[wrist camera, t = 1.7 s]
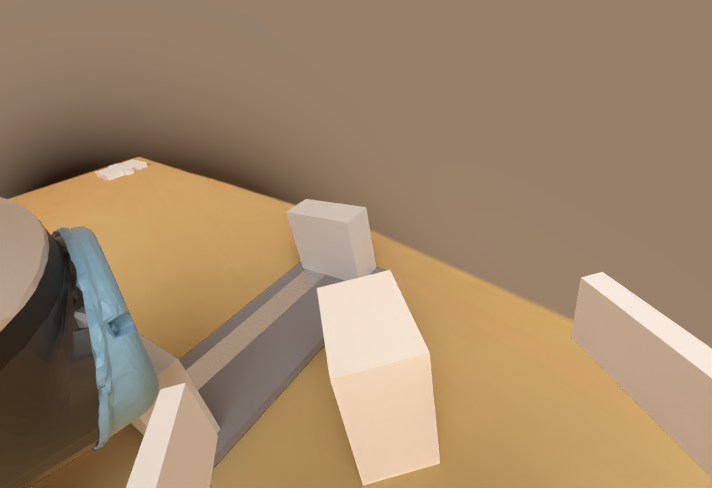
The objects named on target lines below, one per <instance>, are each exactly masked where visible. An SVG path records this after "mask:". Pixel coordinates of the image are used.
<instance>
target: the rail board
mask: <svg viewBox="0 0 712 488" xmlns="http://www.w3.org/2000/svg"><path fill="white" fill-rule="evenodd" d="M384 271H386V270H385V269H381V268H377V267H376V268H375V269H374V270H373V271H372V272H371V273H370V275H372V274H376V273H380V272H384ZM343 281H346V280H342V279H339V278H335V277H332V276H328V275H326V274H322V273H319V272H315V271H312V270H308V269H304V268H303V267H302V264H301V262H299V263H298V264H297V265H296V266H295V267H293V268H292V269H291V270H290V271H288V272H287V273H286V274H285V275H283V276H282V277H281V278H280V279H278V280H277V281H276V282H275V283H274V284H272V285H271V286H270V287H269V288H267V289H266V290H265V291H264V292H262V293H261V294H260V295H259V296H257V297H256V298H255V299H254V300H253V301H251V302H250V303H249V304H248V305H246V306H245V307H244V308H243V309H241V310H240V311H239V312H238V313H237V314H235V315H234V316H233V317H232V318H230V319H229V320H228V321H227V322H225V323H224V324H223V325H222V326H220V327H219V328H218V329H217V330H216V331H214V332H213V333H212V334H211V335H209V336H208V337H207V338H206V339H204V340H203V341H202V342H201V343H199V344H198V345H197V346H196V347H195V348H193V349H192V350H191V351H190V352H188V353H187V354H186V355H185V356H183V357H182V358H181V359H180V360H179V361H180V362H181V364H182V366H183V367H184V369H185V371H186V372H187V374H188V376H189V377H190V379H191V381H192V382H193V384H194V386H195V387H196V389H197V391H198V392H199V394H200V395H201V397H202V399H203V400H204V402H205V404H206V405H207V407H208V409H209V410H210V412H211V414H212V415H213V417H214V419H215V420H216V422H217V424H218V425H219V427H220V429H221V430H220V431H219V432H218V433H217V435H218V439H217V445H216V451H215V458H214V464H213V469H214V467H215V466H216V465H217V464H218V463H219V462H220V461H221V460H222V459H223V457H224V456H225V455H226V454H227V453H228V452H229V451H230V450H231V449H232V447H233V446H234V445H235V444H236V443H237V442H238V441H239V440H240V439H241V437H242V436H243V435H244V434H245V433H246V432H247V431H248V430H249V429H250V427H251V426H252V425H253V424H254V423H255V422H256V421H257V420H258V419H259V417H260V416H261V415H262V414H263V413H264V412H265V411H266V410H267V409H268V407H269V406H270V405H271V404H272V403H273V402H274V401H275V400H276V398H277V397H278V396H279V395H280V394H281V393H282V392H283V391H284V390H285V388H286V387H287V386H288V385H289V384H290V383H291V382H292V381H293V380H294V378H295V377H296V376H297V375H298V374H299V373H300V372H301V371H302V370H303V368H304V367H305V366H306V365H307V364H308V363H309V362H310V361H311V360H312V358H313V357H314V356H315V355H316V354H317V353H318V352H319V351H320V350H321V348H322V347H323V346H324V345H325V342H324V335H323V328H322V321H321V314H320V307H319V300H318V293H317V288H319V287H323V286H327V285H331V284H335V283H339V282H343ZM130 424H131V425H132V426H133V427H134V428H135V429H136V430H137V431H138V432H139V433H140V434H141V435H142V436H143V437H144V435H143V434H142V433H141V432H140V431H139V430H138V429H137V428H136V427H135V426H134V425H133V424H132V423H130Z"/></svg>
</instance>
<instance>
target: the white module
mask: <svg viewBox="0 0 712 488" xmlns="http://www.w3.org/2000/svg"><path fill="white" fill-rule="evenodd" d="M317 293H318V300H319V307H320V314H321V321H322V328H323V335H324V342H325V349H326V356H327V363H328V370H329V377H330V381H331V385H332V388H333V391H334V394H335V397H336V401H337V404H338V407H339V410H340V413H341V417H342V420H343V423H344V426H345V429H346V433H347V436H348V439H349V442H350V446H351V449H352V452H353V455H354V458H355V462H356V465H357V468H358V471H359V474H360V478H361V481H362V484H363V486H364V485H367V484H371V483H374V482H377V481H381V480H384V479H388V478H391V477H395V476H398V475H402V474H405V473H408V472H412V471H415V470H419V469H422V468H426V467H429V466H433V465H436V464H440V457H439V446H438V436H437V425H436V415H435V404H434V394H433V383H432V373H431V362H430V352H429V350H428V348H427V346H426V344H425V342H424V340H423V338H422V336H421V334H420V332H419V329H418V327H417V325H416V323H415V321H414V319H413V317H412V315H411V313H410V311H409V309H408V306H407V304H406V302H405V300H404V298H403V296H402V294H401V292H400V290H399V288H398V286H397V283H396V281H395V279H394V277H393V275H392V273H391V271H390V270H388V271H384V272H380V273H376V274H372V275H368V276H364V277H360V278H356V279H351V280H347V281H343V282H339V283H335V284H331V285H327V286H323V287H319V288H317Z"/></svg>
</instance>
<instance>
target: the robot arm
mask: <svg viewBox="0 0 712 488" xmlns="http://www.w3.org/2000/svg"><path fill="white" fill-rule="evenodd" d="M571 338H572V339H573V340H574V341H575V342H576V343H577V344H578V345H579V346H580V347H581V348H582V349H583V350H584V351H585V352H586V353H587V354H588V355H589V356H590V357H591V358H592V359H593V360H594V361H595V362H596V363H597V364H598V365H599V366H600V367H601V368H602V369H603V370H604V371H605V372H606V373H607V374H608V375H609V376H610V377H611V378H612V379H613V380H614V381H615V382H616V383H617V384H618V385H619V386H620V387H621V388H622V389H623V390H624V391H625V392H626V393H627V394H628V395H629V396H630V397H631V398H632V399H633V400H634V401H635V402H636V403H637V404H638V405H639V406H640V407H641V408H642V409H643V410H644V411H645V412H646V413H647V414H648V415H649V416H650V417H651V418H652V419H653V420H654V421H655V422H656V423H657V424H658V425H659V426H660V427H661V428H662V429H663V430H664V431H665V432H666V433H667V434H668V435H669V436H670V437H671V438H672V439H673V440H674V441H675V442H676V443H677V444H678V445H679V446H680V447H681V448H682V449H683V450H684V451H685V452H686V453H687V454H688V455H689V456H690V457H691V458H692V459H693V460H694V461H695V462H696V463H697V464H698V465H699V466H700V467H701V468H702V469H703V470H704V471H705V472H706V473H707V474H708V475H709V476H710V477H711V478H712V349H711V348H710V347H708V346H707V345H705V344H704V343H703V342H701V341H700V340H698V339H697V338H696V337H694V336H693V335H691V334H689V332H687V331H686V330H684V329H683V328H681V327H680V326H678V325H677V324H676V323H674V322H673V321H671V320H670V319H668V318H667V317H666V316H664V315H663V314H661V313H660V312H659V311H657V310H656V309H654V308H653V307H651V306H650V305H649V304H647V303H646V302H644V301H643V300H641V299H640V298H639V297H637V296H636V295H634V294H633V293H632V292H630V291H629V290H627V289H626V288H624V287H623V286H621V285H620V284H619V283H617V282H616V281H614V280H613V279H612V278H610V277H608V276H607V275H606V274H604V273H603V272H600V273H597V274H593V275H589V276H585V277H582V278H581V281H580V287H579V292H578V298H577V304H576V311H575V316H574V322H573V328H572V334H571ZM158 392H159V381H158V378H157V375H156V372H155V370H154V367H153V365H152V362H151V360H150V358H149V356H148V353H147V351H146V349H145V346H144V344H143V342H142V340H141V337H140V335H139V333H138V331H137V329H136V326H135V324H134V322H133V320H132V318H131V316H130V312H129V310H128V308H127V306H126V304H125V301H124V298H123V296H122V294H121V291H120V289H119V287H118V285H117V282H116V280H115V278H114V275H113V273H112V271H111V269H110V267H109V264H108V262H107V260H106V258H105V256H104V253H103V251H102V249H101V247H100V245H99V242H98V240H97V238H96V236H95V234H94V233H93V232H92V231H91V230H90V229H88V228H86V227H74V228H71V229H69V228H60V229H58V230H57V231H53V233H52V235H50V234H49V232H48V231H47V230H46V229H45V227H44V226H43V225H42V223H41V222H40V221H39V220H38V219H37V218H36V217H35V216H34V215H33V214H32V213H31V212H30V211H29V210H28V209H26V208H25V207H24V206H22V205H20V204H18V203H16V202H14V201H11V200H8V199H4V198H1V197H0V488H29V487H31V486H32V485H34V484H36V483H37V482H39V481H41V480H42V479H44V478H45V477H47V476H49V475H50V474H52V473H53V472H55V471H57V470H58V469H60V468H61V467H63V466H65V465H66V464H68V463H70V462H71V461H73V460H74V459H76V458H78V457H79V456H81V455H83V454H84V453H86V452H88V451H89V450H91V449H93V450H97V449H99V448H101V447H102V446H104V445H105V444H106V443H107V442H108V440H109V438H110V437H111V436H113V435H114V434H116V433H117V432H119V431H120V430H122V429H123V428H124V427H126V426H127V425H129V424H130V423H132V422H133V421H135V420H136V419H138V418H139V417H141V416H142V415H143V414H145V413H146V412H147V411H148V410H149V409H150V408H151V407H152V405H153V404H154V402H155V400H156V398H157V395H158ZM217 439H218V435H217V433H216V431H215V430H214V428H213V426H212V425H211V423H210V422H209V420H208V418H207V417H206V415H205V414H204V412H203V410H202V409H201V407H200V405H199V404H198V402H197V401H196V399H195V397H194V396H193V394H192V393H191V391H190V389H189V388H188V386H187V384H186V383H183V384H179V385H175V386H171V387H168V388H164V389H160V392H159V395H158V398H157V400H156V403H155V406H154V409H153V412H152V415H151V417H150V420H149V423H148V426H147V429H146V432H145V435H144V437H143V440H142V443H141V446H140V449H139V452H138V455H137V457H136V460H135V463H134V466H133V469H132V472H131V475H130V477H129V480H128V483H127V486H126V488H210V483H211V476H212V470H213V464H214V458H215V451H216V445H217Z"/></svg>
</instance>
